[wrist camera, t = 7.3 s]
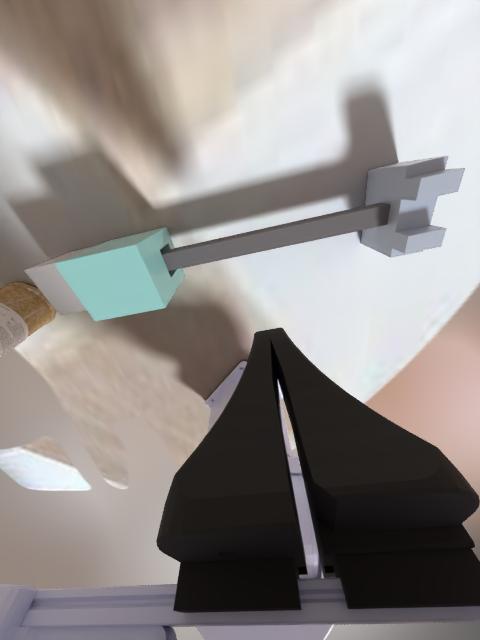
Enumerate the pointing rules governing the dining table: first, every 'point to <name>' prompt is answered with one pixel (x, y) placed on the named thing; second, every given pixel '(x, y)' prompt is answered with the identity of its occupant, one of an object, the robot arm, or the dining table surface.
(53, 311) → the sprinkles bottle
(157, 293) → the sleeve
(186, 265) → the shaft
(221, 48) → the dining table surface
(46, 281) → the grey cube
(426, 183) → the grey notched jaw block
